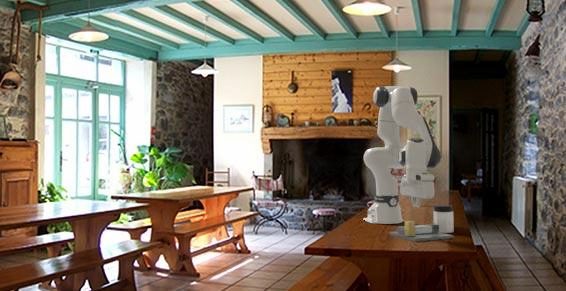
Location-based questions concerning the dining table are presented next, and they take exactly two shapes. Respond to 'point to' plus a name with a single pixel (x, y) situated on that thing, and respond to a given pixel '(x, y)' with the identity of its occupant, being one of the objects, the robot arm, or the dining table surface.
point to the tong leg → (427, 229)
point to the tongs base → (402, 229)
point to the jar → (443, 218)
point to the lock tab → (410, 228)
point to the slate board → (423, 236)
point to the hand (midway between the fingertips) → (416, 207)
